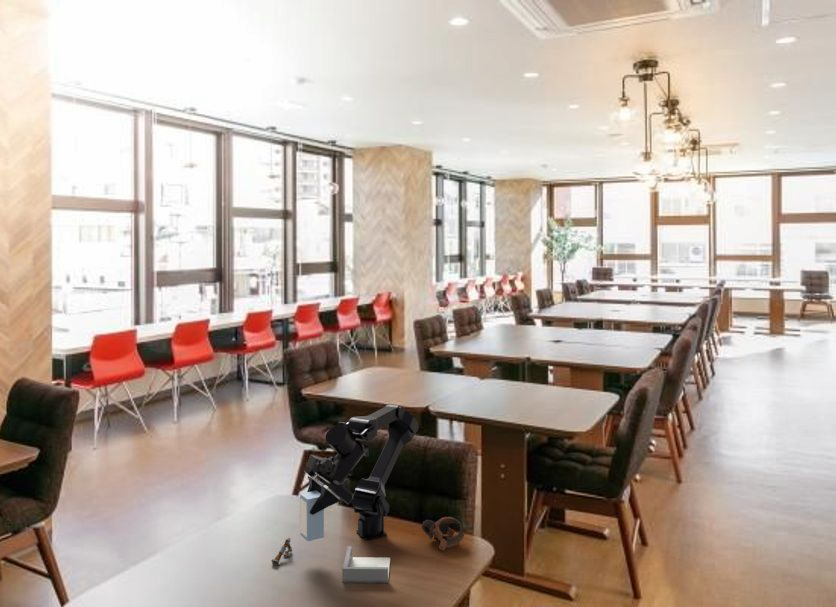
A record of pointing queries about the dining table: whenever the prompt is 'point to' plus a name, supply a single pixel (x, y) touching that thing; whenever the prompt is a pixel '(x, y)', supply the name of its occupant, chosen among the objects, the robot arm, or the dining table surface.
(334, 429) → the robot arm
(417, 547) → the dining table surface
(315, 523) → the slate block
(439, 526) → the pottery mug
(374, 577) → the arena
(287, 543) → the wooden post with brackets
